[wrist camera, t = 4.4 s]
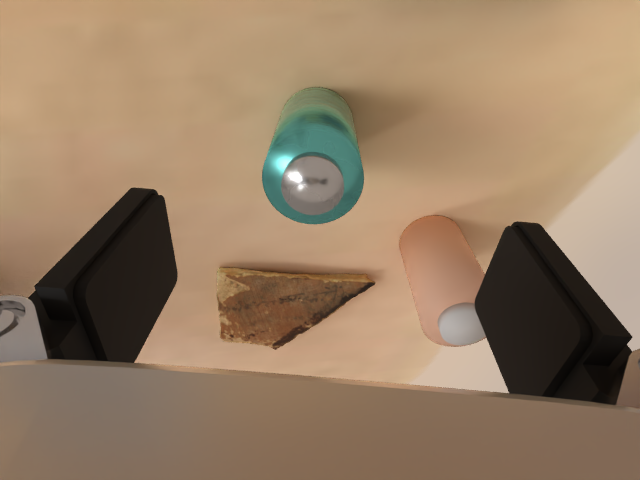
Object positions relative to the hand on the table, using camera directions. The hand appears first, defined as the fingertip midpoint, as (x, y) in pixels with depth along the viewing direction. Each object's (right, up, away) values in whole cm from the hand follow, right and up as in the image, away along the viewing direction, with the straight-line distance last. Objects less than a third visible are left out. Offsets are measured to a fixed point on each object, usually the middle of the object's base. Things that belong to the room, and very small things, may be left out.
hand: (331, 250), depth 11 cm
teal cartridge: (0, +7, +10) cm, 12 cm away
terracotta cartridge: (+7, 0, +14) cm, 16 cm away
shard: (-3, -3, +17) cm, 18 cm away
